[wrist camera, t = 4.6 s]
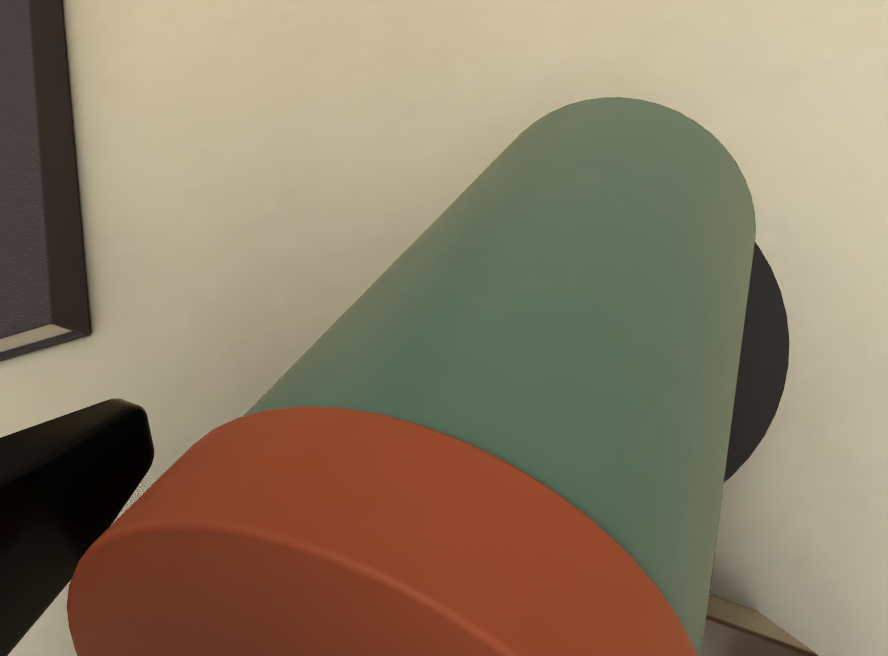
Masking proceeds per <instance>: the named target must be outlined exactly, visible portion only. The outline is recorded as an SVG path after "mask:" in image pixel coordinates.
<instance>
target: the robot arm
mask: <svg viewBox="0 0 888 656" xmlns="http://www.w3.org/2000/svg"><path fill="white" fill-rule="evenodd" d="M153 458H154V446H153V442H152V437H151V432H150V427H149V422H148V417H147V414H146V411H145V410H144V409H143V408H142V407H141V406H139V405H136V404H133V403H131V402H128V401H125V400H122V399H110V400H107V401H104V402H101V403H98V404H95V405H92V406H90V407H87V408H84V409H81V410H78V411H75V412H72V413H70V414H67V415H64V416H61V417H58V418H55V419H53V420H50V421H47V422H44V423H41V424H38V425H36V426H33V427H30V428H27V429H24V430H21V431H18V432H16V433H13V434H10V435H7V436H4V437H1V438H0V656H8V654H9V653H10V652H11V651H12V650H13V648H14V647H15V646H16V645H17V644H18V642H19V641H20V640H21V639H22V638H23V636H24V635H25V634H26V633H27V632H28V630H29V629H30V628H31V627H32V626H33V624H34V623H35V622H36V621H37V620H38V619H39V617H40V616H41V615H42V614H43V613H44V611H45V610H46V609H47V608H48V607H49V605H50V604H51V603H52V602H53V601H54V599H55V598H56V597H57V596H58V595H59V593H60V592H61V591H62V590H63V589H64V587H65V586H66V585H67V584H68V583H69V581H70V580H71V579H72V577H73V574H74V572H75V569H76V567H77V565H78V562H79V560H80V559H81V558H82V556H83V555H84V554H85V553H86V551H87V550H88V549H89V547H90V546H91V545H92V544H93V543H94V542H95V541H96V540H97V539H98V538H99V537H100V536H101V535H102V534H103V533H104V532H105V531H106V530H107V529H108V528H109V527H110V526H111V524H112V523H113V521H114V520H115V519H116V517H117V516H118V514H119V513H120V511H121V510H122V508H123V507H124V505H125V504H126V503H127V501H128V500H129V498H130V497H131V495H132V494H133V492H134V491H135V489H136V488H137V486H138V485H139V484H140V482H141V481H142V479H143V478H144V476H145V475H146V473H147V472H148V470H149V469H150V467H151V464H152V462H153Z"/></svg>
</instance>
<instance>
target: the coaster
mask: <svg viewBox="0 0 888 656" xmlns="http://www.w3.org/2000/svg"><path fill="white" fill-rule="evenodd" d="M788 358H789V333H788V324H787V315H786V311H785V307H784V303H783V299H782V295H781V291H780V289H779V286H778V284H777V281H776V279H775V277H774V274H773V272H772V269H771V267H770V265H769V264H768V262H767V260H766V259H765V257H764V255H763V254H762V252H761V250H760V248H759V247H758V245H757V244H756V243H755V244H754V252H753V260H752V268H751V275H750V283H749V291H748V298H747V306H746V314H745V322H744V329H743V337H742V345H741V352H740V360H739V368H738V376H737V383H736V391H735V399H734V406H733V414H732V422H731V430H730V437H729V445H728V453H727V460H726V468H725V476H724V482H725V481H726V480H727V479H729V478H730V477H731V476H732V475H733V474H734V473H735V472H736V471H737V470H738V469H739V468H740V467H741V466H742V464H743V463H744V462H745V461H746V460H747V459H748V458H749V457H750V455H751V454H752V453H753V451H754V450H755V448H756V447H757V446H758V444H759V443H760V441H761V440H762V438H763V437H764V435H765V433H766V431H767V429H768V427H769V425H770V423H771V421H772V420H773V418H774V416H775V414H776V411H777V408H778V405H779V402H780V399H781V396H782V393H783V390H784V385H785V380H786V374H787V369H788Z"/></svg>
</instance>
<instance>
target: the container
mask: <svg viewBox="0 0 888 656" xmlns="http://www.w3.org/2000/svg"><path fill="white" fill-rule="evenodd" d="M755 234H756V225H755V211H754V206H753V202H752V197H751V194H750V191H749V188H748V185H747V183H746V180H745V178H744V176H743V174H742V172H741V170H740V169H739V167H738V165H737V163H736V161H735V160H734V159H733V157H732V156H731V155H730V153H729V152H728V151H727V150H726V148H725V147H724V146H723V145H722V144H721V143H720V142H719V141H718V140H717V139H716V138H715V137H714V136H713V135H712V134H711V133H710V132H709V131H707V130H706V129H705V128H703V127H702V126H701V125H699V124H698V123H697V122H695V121H694V120H692V119H690V118H688V117H686V116H685V115H683V114H681V113H679V112H677V111H675V110H672V109H670V108H667V107H665V106H662V105H660V104H656V103H652V102H648V101H644V100H639V99H630V98H622V97H618V98H597V99H591V100H584V101H580V102H577V103H573V104H570V105H567V106H564V107H562V108H560V109H557V110H555V111H553V112H551V113H549V114H547V115H545V116H544V117H542V118H541V119H539V120H537V121H536V122H534V123H533V124H532V125H531V126H529V127H528V128H527V129H526V130H525V131H523V132H522V133H521V134H520V135H519V136H518V137H517V138H516V139H515V140H514V141H513V142H512V143H511V144H510V145H509V146H508V147H507V148H506V149H505V150H504V151H503V152H502V153H501V154H500V155H499V156H498V158H497V159H496V160H495V161H494V162H493V163H492V164H491V165H490V166H489V167H488V168H487V169H486V170H485V171H484V172H483V173H482V174H481V175H480V176H479V177H478V178H477V179H476V180H475V181H474V182H473V183H472V184H471V185H470V186H469V187H468V188H467V189H466V190H465V191H464V192H463V193H462V194H461V195H460V196H459V197H458V198H457V199H456V200H455V201H454V202H453V203H452V204H451V205H450V206H449V207H448V208H447V209H446V210H445V211H444V212H443V213H442V215H441V216H440V217H439V218H438V219H437V220H436V221H435V222H434V223H433V224H432V225H431V226H430V227H429V228H428V229H427V230H426V231H425V232H424V233H423V234H422V235H421V236H420V237H419V238H418V239H417V240H416V241H415V242H414V243H413V244H412V245H411V246H410V247H409V248H408V249H407V250H406V251H405V252H404V253H403V254H402V255H401V256H400V257H399V258H398V259H397V260H396V261H395V262H394V263H393V264H392V265H391V266H390V267H389V268H388V269H387V270H386V271H385V273H384V274H383V275H382V276H381V277H380V278H379V279H378V280H377V281H376V282H375V283H374V284H373V285H372V286H371V287H370V288H369V289H368V290H367V291H366V292H365V293H364V294H363V295H362V296H361V297H360V298H359V299H358V300H357V301H356V302H355V303H354V304H353V305H352V306H351V307H350V308H349V309H348V310H347V311H346V312H345V313H344V314H343V315H342V316H341V317H340V318H339V319H338V320H337V321H336V322H335V323H334V324H333V325H332V326H331V327H330V328H329V329H328V331H327V332H326V333H325V334H324V335H323V336H322V337H321V338H320V339H319V340H318V341H317V342H316V343H315V344H314V345H313V346H312V347H311V348H310V349H309V350H308V351H307V352H306V353H305V354H304V355H303V356H302V357H301V358H300V359H299V360H298V361H297V362H296V363H295V364H294V365H293V366H292V367H291V368H290V369H289V370H288V371H287V372H286V373H285V374H284V375H283V376H282V377H281V378H280V379H279V380H278V381H277V382H276V383H275V384H274V385H273V386H272V387H271V389H270V390H269V391H268V392H267V393H266V394H265V395H264V396H263V397H262V398H261V399H260V400H259V401H258V402H257V403H256V404H255V405H254V406H253V407H252V408H251V409H250V410H249V411H248V412H247V413H246V414H245V415H244V416H243V417H240V418H237V419H235V420H233V421H230V422H228V423H226V424H224V425H222V426H220V427H218V428H216V429H214V430H212V431H211V432H209V433H208V434H207V435H205V436H204V437H203V438H202V439H200V440H199V441H198V442H196V443H195V444H194V445H193V446H192V447H191V448H190V449H189V450H188V451H187V452H186V453H185V454H184V455H183V456H182V457H180V458H179V459H178V460H177V461H176V462H175V463H174V464H173V465H172V466H171V467H170V468H169V469H168V470H167V471H166V472H165V473H164V474H163V475H162V476H161V477H160V478H159V479H158V480H157V481H156V482H155V483H154V484H153V485H152V486H151V487H150V488H149V489H148V490H147V491H146V492H145V493H144V494H143V495H142V496H141V497H140V498H139V499H138V500H137V501H136V502H135V503H134V504H133V505H132V506H131V507H130V508H129V509H128V510H126V511H125V512H124V513H123V514H122V515H121V516H120V517H119V518H118V519H117V520H116V521H115V522H114V523H113V524H112V525H111V526H110V527H109V528H108V529H107V530H106V531H105V532H104V533H103V534H102V535H101V536H100V537H99V538H98V539H97V540H96V541H95V542H94V543H93V544H92V545H91V546H90V547H89V549H88V550H87V551H86V553H85V554H84V555H83V556H82V558H81V559H80V560H79V562H78V565H77V567H76V569H75V572H74V574H73V577H72V580H71V582H70V585H69V592H68V600H67V611H68V621H69V629H70V632H71V636H72V640H73V643H74V647H75V650H76V653H77V655H78V656H701V653H702V645H703V638H704V630H705V622H706V614H707V607H708V599H709V591H710V584H711V576H712V568H713V561H714V553H715V545H716V537H717V530H718V522H719V514H720V507H721V499H722V491H723V483H724V476H725V468H726V460H727V453H728V445H729V437H730V430H731V422H732V414H733V406H734V399H735V391H736V383H737V376H738V368H739V360H740V352H741V345H742V337H743V329H744V322H745V314H746V306H747V298H748V291H749V283H750V275H751V268H752V260H753V252H754V244H755Z"/></svg>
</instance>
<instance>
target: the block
mask: <svg viewBox="0 0 888 656" xmlns="http://www.w3.org/2000/svg"><path fill="white" fill-rule="evenodd" d="M701 656H818V655H817V654H816V653H815V652H813V651H812V650H811V649H809V648H808V647H806V646H805V645H804V644H802V643H801V642H799V641H798V640H797V639H795V638H794V637H792V636H791V635H790V634H788V633H787V632H785V631H784V630H783V629H781V628H780V627H779V626H777V625H776V624H774V623H773V622H772V621H770V620H769V619H767V618H766V617H765V616H763V615H762V614H760V613H759V612H758V611H755V610H752V609H749V608H747V607H744V606H741V605H738V604H735V603H732V602H730V601H727V600H724V599H721V598H718V597H715V596H713V595H710V594H709V599H708V607H707V614H706V622H705V630H704V638H703V645H702V653H701Z"/></svg>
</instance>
